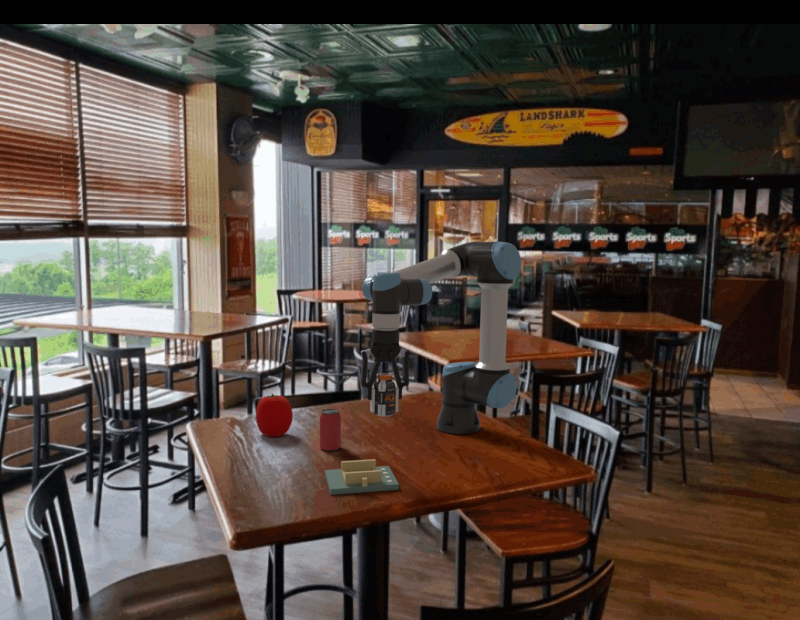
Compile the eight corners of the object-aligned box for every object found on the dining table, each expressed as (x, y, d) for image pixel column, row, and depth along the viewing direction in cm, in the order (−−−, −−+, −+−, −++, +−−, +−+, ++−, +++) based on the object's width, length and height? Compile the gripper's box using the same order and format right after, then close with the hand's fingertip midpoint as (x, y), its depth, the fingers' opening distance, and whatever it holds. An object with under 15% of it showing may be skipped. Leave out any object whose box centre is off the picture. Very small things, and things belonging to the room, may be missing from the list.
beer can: (337, 452, 199) (337, 414, 198) (317, 450, 200) (316, 412, 199) (343, 445, 206) (343, 408, 204) (323, 444, 207) (323, 407, 205)
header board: (388, 470, 184) (388, 455, 183) (398, 489, 170) (399, 473, 169) (324, 475, 180) (324, 459, 179) (330, 494, 166) (330, 478, 166)
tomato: (248, 437, 213) (247, 395, 211) (267, 428, 223) (267, 388, 222) (281, 442, 208) (280, 399, 207) (299, 432, 219) (299, 391, 217)
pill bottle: (387, 417, 176) (387, 377, 175) (369, 414, 179) (369, 374, 178) (398, 413, 181) (399, 373, 180) (381, 410, 184) (381, 371, 183)
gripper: (416, 326, 183) (414, 406, 186) (349, 327, 179) (348, 408, 182) (422, 330, 176) (420, 413, 178) (353, 330, 172) (352, 415, 174)
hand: (384, 410), depth 180 cm, fingers closed on pill bottle, 6 cm apart
